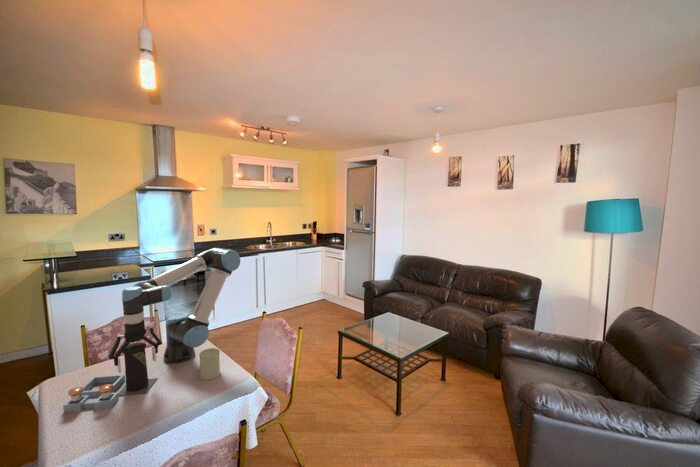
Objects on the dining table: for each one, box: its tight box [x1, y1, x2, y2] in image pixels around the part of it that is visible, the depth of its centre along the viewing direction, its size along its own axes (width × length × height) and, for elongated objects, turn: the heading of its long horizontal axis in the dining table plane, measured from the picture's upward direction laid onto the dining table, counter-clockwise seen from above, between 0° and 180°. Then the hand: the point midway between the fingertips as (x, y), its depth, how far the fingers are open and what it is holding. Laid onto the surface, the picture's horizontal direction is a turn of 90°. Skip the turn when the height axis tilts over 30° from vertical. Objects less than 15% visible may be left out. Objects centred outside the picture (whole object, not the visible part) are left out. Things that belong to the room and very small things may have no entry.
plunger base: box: [62, 391, 120, 413], centre depth 131 cm, size 17×6×3 cm, turn 101°
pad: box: [118, 377, 158, 397], centre depth 144 cm, size 12×12×1 cm
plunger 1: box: [67, 386, 84, 403], centre depth 129 cm, size 5×5×6 cm
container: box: [122, 341, 149, 391], centre depth 143 cm, size 9×9×20 cm
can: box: [199, 347, 221, 381], centre depth 155 cm, size 9×9×12 cm
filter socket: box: [81, 373, 126, 399], centre depth 142 cm, size 13×13×3 cm
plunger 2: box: [98, 383, 113, 401], centre depth 132 cm, size 5×5×6 cm
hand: (137, 365), depth 144 cm, fingers open, 13 cm apart
